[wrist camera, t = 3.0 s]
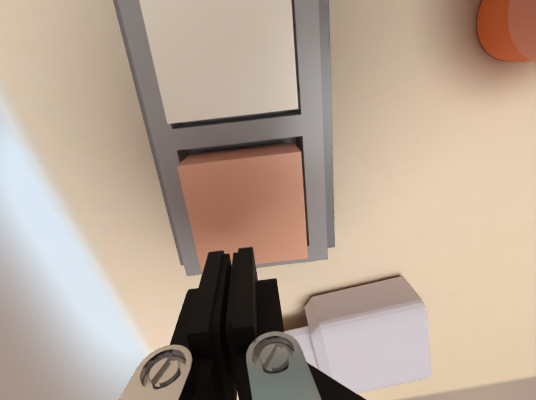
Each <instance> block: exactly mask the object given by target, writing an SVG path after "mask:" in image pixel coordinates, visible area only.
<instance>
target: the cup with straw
mask: <svg viewBox="0 0 536 400" xmlns="http://www.w3.org/2000/svg"><path fill="white" fill-rule="evenodd" d="M477 31H478V36H479V40H480V42H481V44H482V46H483V48H484V49H485V50H486V52H487V53H489V54H490V55H491V56H493V57H495V58H497V59H499V60H503V61H533V62H536V0H482V1H481V4H480V8H479V11H478V17H477Z"/></svg>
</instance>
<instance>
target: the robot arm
mask: <svg viewBox="0 0 536 400" xmlns="http://www.w3.org/2000/svg"><path fill="white" fill-rule="evenodd" d="M237 392H238V397H239V400H366V399H364V398H363V397H361V396H359V395H358V394H356V393H355V392H353V391H351V390H350V389H348V388H347V387H345V386H344V385H342V384H340V383H339V382H337V381H336V380H334V379H333V378H331V377H329V376H328V375H326V374H325V373H323V372H322V371H320V370H318V369H317V368H315V367H314V366H312V365H310V364H309V363H307V361H306V359H305V356H304V354H303V351H302V349H301V346H300V345H299V343H298V341H297V340H296V339H295V338H294V337H292V336H291V335H289V334H287V333H284V327H283V320H282V313H281V306H280V300H279V293H278V286H277V279H276V278H275V279H267V280H259V281H258V279H257V272H256V264H255V257H254V251H253V247H245V248H238V252H236V253H233V259H232V264H231V258H230V254H229V253H228V254H225V253H224V251H223V250H221V251H213V252H208V255H207V259H206V263H205V266H204V270H203V274H202V277H201V281H200V285H199V288H196V289H189V290H188V292H187V294H186V297H185V300H184V303H183V306H182V309H181V312H180V315H179V318H178V321H177V325H176V328H175V331H174V334H173V337H172V340H171V343H170V345H168V346H164V347H162V348H159V349H157V350H155V351H154V352H152V353H150V354H149V355H148V356H147V357H146V358H145V359H144V360H143V361H142V362H141V363H140V365H139V366H138V367H137V369H136V371H135V373H134V374H133V376H132V378H131V380H130V381H129V383H128V385H127V386H126V388H125V390H124V392H123V393H122V395H121V397H120V398H119V400H237Z"/></svg>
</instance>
